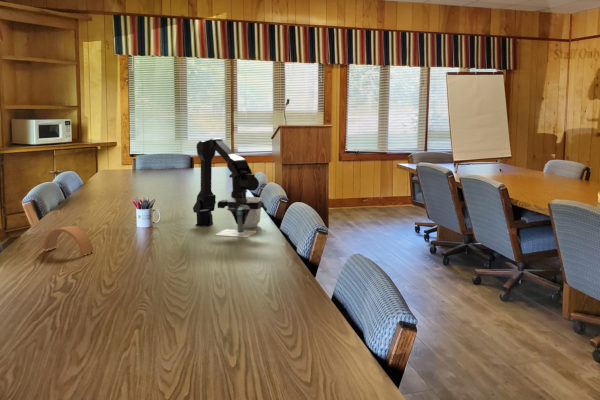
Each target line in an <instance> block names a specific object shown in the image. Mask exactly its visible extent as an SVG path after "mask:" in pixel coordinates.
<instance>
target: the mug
mask: <svg viewBox="0 0 600 400" xmlns="http://www.w3.org/2000/svg"><path fill="white" fill-rule="evenodd" d="M246 199H247V202H246V203H250V202H252V201H261V197H256V196H246ZM261 202H262V201H261ZM238 209H244V207H239V208H238ZM261 211H262V208H260V209H251V210H250V211H249V213H248V216H247V218H246V221H245V224H243V225H244V229H245V228H246V229H253V228H257V226H258V225H259V223H260V221H261Z"/></svg>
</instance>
